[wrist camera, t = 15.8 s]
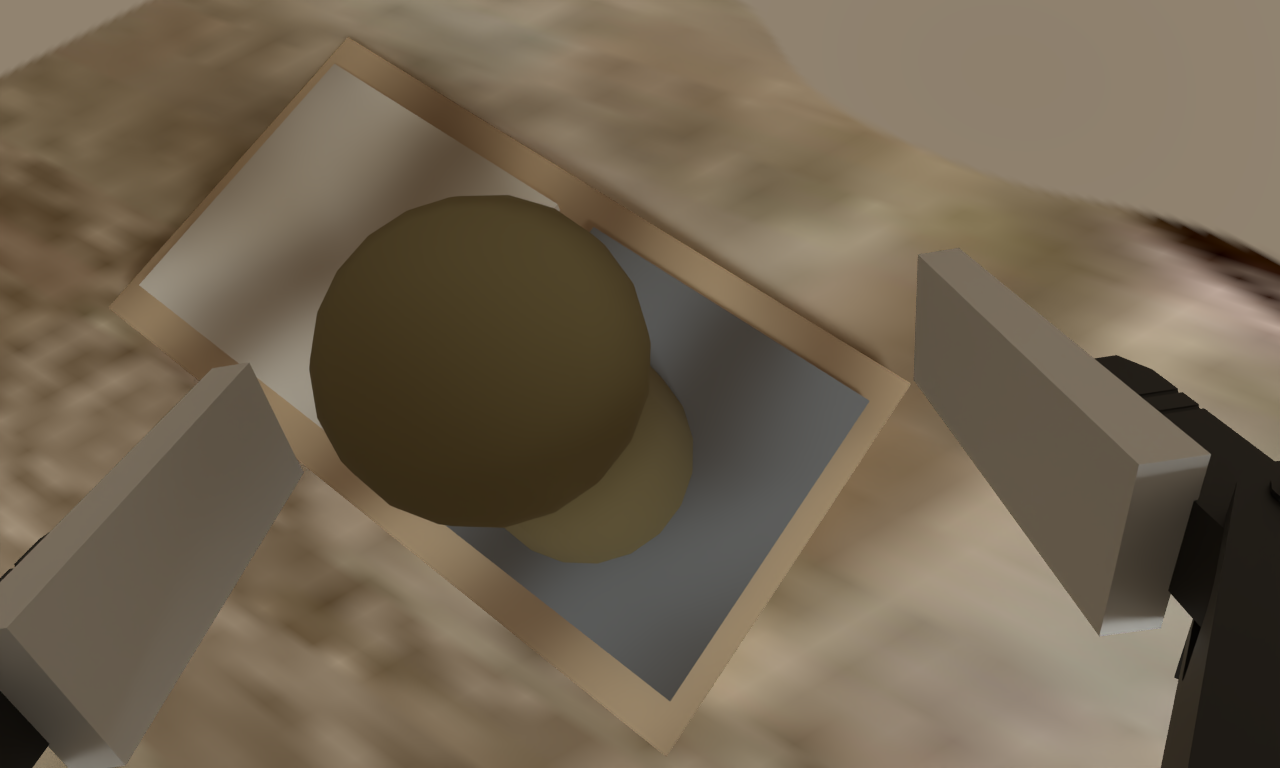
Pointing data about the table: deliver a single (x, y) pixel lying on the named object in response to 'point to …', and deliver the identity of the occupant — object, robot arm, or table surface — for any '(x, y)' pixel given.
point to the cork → (501, 380)
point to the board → (680, 354)
